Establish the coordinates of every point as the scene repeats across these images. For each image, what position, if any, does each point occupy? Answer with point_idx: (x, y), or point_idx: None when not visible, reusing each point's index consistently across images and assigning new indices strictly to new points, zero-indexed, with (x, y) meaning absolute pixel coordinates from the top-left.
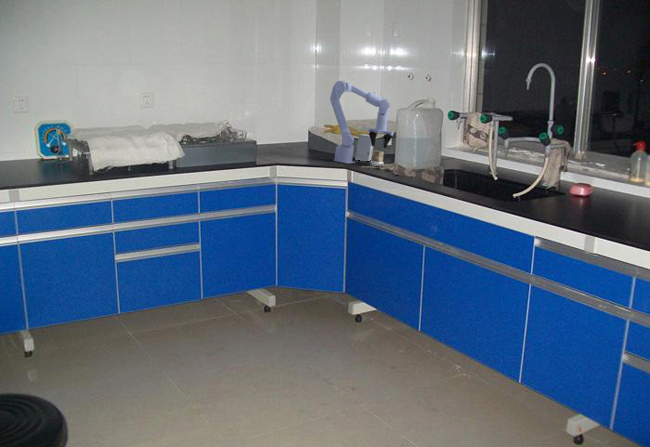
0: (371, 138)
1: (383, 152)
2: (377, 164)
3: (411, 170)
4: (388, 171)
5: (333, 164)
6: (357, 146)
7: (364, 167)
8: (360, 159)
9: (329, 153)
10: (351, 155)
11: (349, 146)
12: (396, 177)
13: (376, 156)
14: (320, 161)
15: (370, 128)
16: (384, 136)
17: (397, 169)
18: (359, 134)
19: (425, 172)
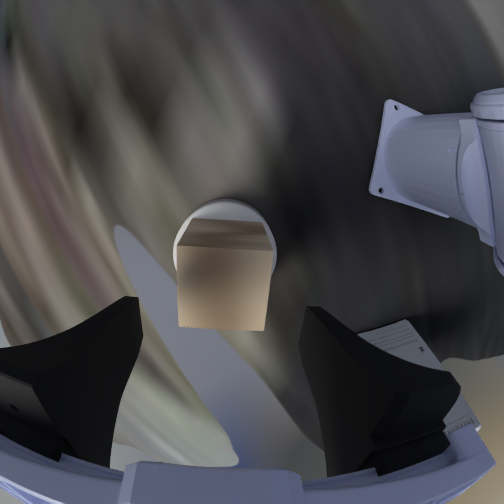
0: (365, 352)
1: (179, 318)
2: (198, 209)
3: (49, 305)
4: (64, 97)
5: (394, 4)
6: (442, 368)
7: (233, 63)
8: (383, 331)
9: (491, 351)
10: (411, 147)
11: (470, 117)
12: (6, 5)
13: (215, 232)
14: (470, 56)
15: (465, 488)
16: (37, 367)
17: (82, 252)
18: (479, 425)
19: (9, 312)
